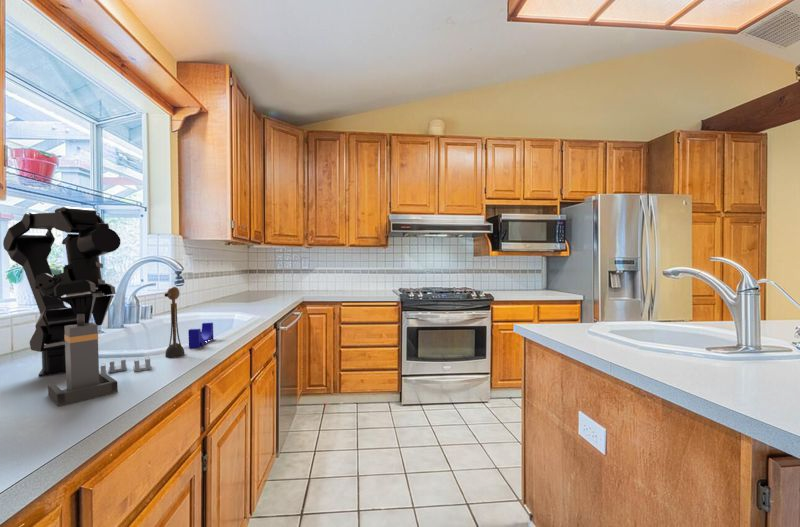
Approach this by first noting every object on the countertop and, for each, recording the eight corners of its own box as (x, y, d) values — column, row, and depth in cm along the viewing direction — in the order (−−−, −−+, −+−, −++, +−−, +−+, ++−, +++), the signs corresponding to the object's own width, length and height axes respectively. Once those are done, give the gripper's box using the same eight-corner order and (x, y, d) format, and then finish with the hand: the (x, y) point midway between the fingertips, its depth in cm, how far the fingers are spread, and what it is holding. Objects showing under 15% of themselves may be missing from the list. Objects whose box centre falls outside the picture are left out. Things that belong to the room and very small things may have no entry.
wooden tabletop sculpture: (176, 358, 105) (174, 287, 105) (159, 358, 105) (157, 287, 105) (187, 353, 111) (185, 285, 111) (171, 353, 111) (170, 285, 111)
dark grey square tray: (48, 395, 78) (48, 384, 78) (104, 382, 86) (104, 372, 86) (58, 406, 73) (57, 394, 72) (117, 392, 80) (117, 381, 80)
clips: (88, 372, 93) (88, 362, 93) (149, 363, 101) (149, 353, 101) (87, 379, 88) (87, 368, 88) (151, 369, 96) (151, 358, 96)
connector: (66, 392, 79) (63, 314, 78) (93, 385, 82) (91, 311, 82) (71, 397, 76) (68, 316, 76) (100, 390, 80) (97, 313, 79)
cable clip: (199, 340, 129) (199, 322, 128) (213, 339, 129) (213, 322, 129) (183, 349, 117) (183, 330, 116) (199, 348, 117) (198, 329, 117)
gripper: (57, 268, 93) (65, 331, 93) (16, 260, 76) (26, 336, 76) (112, 262, 98) (120, 322, 97) (84, 253, 81) (94, 325, 80)
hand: (92, 326), depth 87 cm, fingers open, 9 cm apart
